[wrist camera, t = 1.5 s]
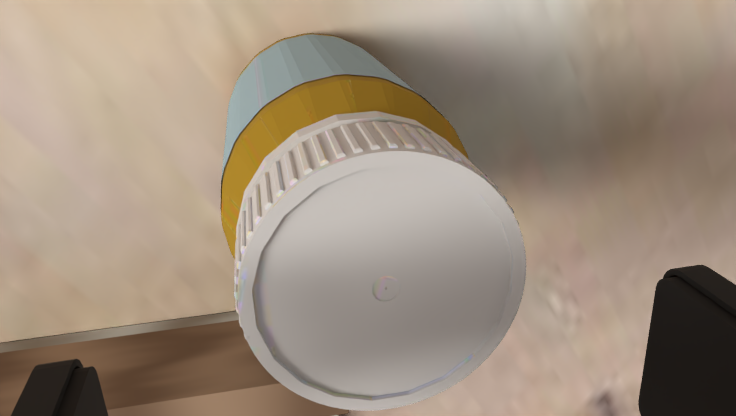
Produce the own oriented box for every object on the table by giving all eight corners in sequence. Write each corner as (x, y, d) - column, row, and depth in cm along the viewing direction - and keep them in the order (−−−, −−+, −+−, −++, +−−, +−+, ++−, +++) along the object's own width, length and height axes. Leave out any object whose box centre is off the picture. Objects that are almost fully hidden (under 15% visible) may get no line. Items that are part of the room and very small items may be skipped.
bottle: (303, -7, 24) (378, 46, 11) (425, 106, 27) (609, 262, 13) (193, 126, 26) (137, 324, 12) (321, 221, 28) (393, 472, 15)
